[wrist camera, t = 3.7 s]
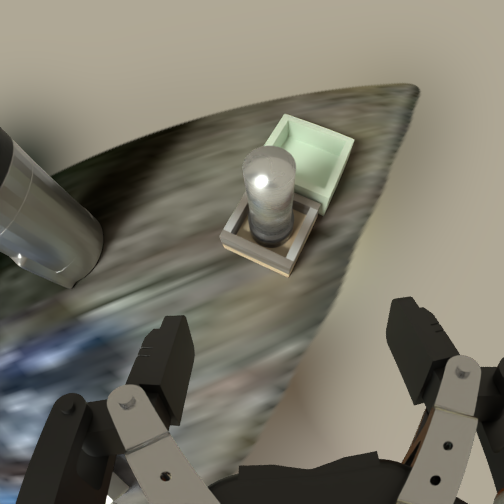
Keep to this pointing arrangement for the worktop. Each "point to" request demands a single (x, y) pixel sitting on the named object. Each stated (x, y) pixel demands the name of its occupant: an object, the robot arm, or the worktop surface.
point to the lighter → (116, 489)
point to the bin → (313, 157)
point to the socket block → (275, 259)
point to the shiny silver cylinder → (270, 194)
